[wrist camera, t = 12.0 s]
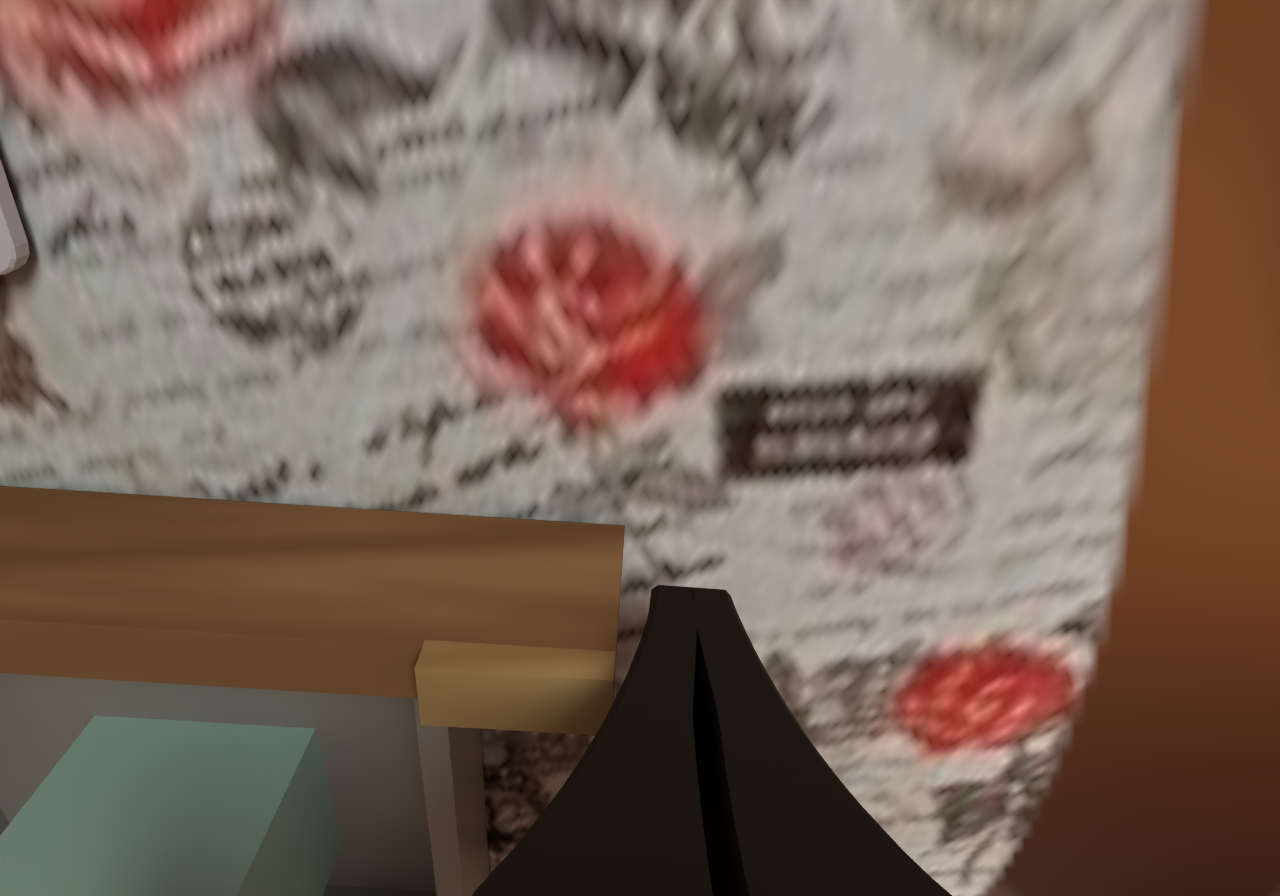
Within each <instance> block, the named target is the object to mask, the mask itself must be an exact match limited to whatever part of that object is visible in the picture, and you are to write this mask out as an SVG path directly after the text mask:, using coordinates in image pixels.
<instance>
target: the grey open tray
mask: <svg viewBox="0 0 1280 896" xmlns="http://www.w3.org/2000/svg"><path fill="white" fill-rule="evenodd" d="M94 716H110V717H127V718H144V719H161V720H178V721H195V722H212V723H229V724H246V725H263V726H280V727H297V728H314V729H316V734H317V738H318V743H319V747H320V752H321V756H322V761H323V766H324V770H325V775H326V779H327V784H328V788H329V793H330V797H331V802H332V806H333V811H334V816H335V820H336V825H337V829H338V834H339V838H340V843H341V848H340V851H339V853H338V856H337V859H336V861H335V864H334V867H333V869H332V872H331V875H330V877H329V880H328V883H327V885H326V888H325V890H324V893H323V896H472V895H473V893H474V892H475V890H476V889H477V888H478V887H479V886H480V885H481V884H482V883H483V881H484V880H485V879H486V878H487V877H488V876H489V875H490V874H489V858H488V841H487V825H486V809H485V792H484V776H483V759H482V743H481V729H479V728H463V727H446V726H430V725H421V720H420V711H419V703H418V699H414V698H397V697H381V696H365V695H348V694H332V693H315V692H299V691H283V690H266V689H250V688H234V687H217V686H201V685H184V684H168V683H152V682H135V681H119V680H102V679H86V678H70V677H53V676H37V675H20V674H4V673H0V835H1V834H2V833H3V832H4V830H5V829H6V828H7V826H8V825H9V824H10V823H11V821H12V820H13V819H14V818H15V816H16V815H17V814H18V812H19V811H20V810H21V809H22V807H23V806H24V805H25V804H26V802H27V801H28V800H29V799H30V797H31V796H32V795H33V793H34V792H35V791H36V790H37V788H38V787H39V786H40V785H41V783H42V782H43V781H44V779H45V778H46V777H47V776H48V774H49V773H50V772H51V771H52V769H53V768H54V767H55V765H56V764H57V763H58V762H59V760H60V759H61V758H62V757H63V755H64V754H65V753H66V751H67V750H68V749H69V748H70V746H71V745H72V744H73V743H74V741H75V740H76V739H77V737H78V736H79V735H80V734H81V732H82V731H83V730H84V729H85V727H86V726H87V725H88V724H89V722H90V721H91V720H92V718H93V717H94Z"/></svg>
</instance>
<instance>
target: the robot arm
mask: <svg viewBox="0 0 1280 896" xmlns="http://www.w3.org/2000/svg"><path fill="white" fill-rule="evenodd" d="M29 254H30V253H29V246H28V241H27V238H26V235H25V232H24V229H23V226H22V223H21V220H20V217H19V214H18V211H17V208H16V205H15V202H14V199H13V196H12V193H11V190H10V187H9V184H8V181H7V178H6V175H5V172H4V169H3V166H2V163H1V160H0V275H5V274H8V273H10V272H12V271H15V270H17V269H19V268H20V267H22V266H23V265H24V264H26V262H27V259H28V257H29ZM472 896H952V895H951V894H950V893H948V892H947V891H946V890H945V889H944V888H943V887H941V886H940V885H939V884H938V883H937V882H936V881H934V880H933V879H932V878H931V877H930V876H929V875H928V874H927V873H926V872H925V871H924V870H923V869H922V868H921V867H920V866H919V865H917V864H916V863H915V862H914V861H913V860H912V859H911V858H910V857H909V856H908V855H907V854H906V853H905V852H904V851H903V850H902V849H901V848H900V847H899V846H898V845H897V844H896V843H895V841H894V840H893V839H892V838H891V837H890V836H889V835H888V834H887V833H886V832H885V831H884V830H883V828H882V827H881V826H880V825H879V824H878V823H877V822H876V821H875V820H874V819H873V818H872V817H871V815H870V814H869V813H868V812H867V811H866V810H865V809H864V808H863V807H862V806H861V805H860V804H859V802H858V801H857V800H856V799H855V798H854V797H853V795H852V794H851V793H850V792H849V790H848V789H847V788H846V787H845V786H844V784H843V783H842V782H841V781H840V779H839V778H838V777H837V776H836V775H835V773H834V772H833V771H832V769H831V768H830V767H829V766H828V764H827V763H826V762H825V760H824V759H823V758H822V756H821V755H820V754H819V752H818V751H817V750H816V748H815V747H814V746H813V744H812V743H811V741H810V740H809V739H808V737H807V736H806V734H805V733H804V731H803V730H802V728H801V727H800V725H799V724H798V722H797V721H796V719H795V718H794V716H793V715H792V713H791V712H790V710H789V708H788V707H787V705H786V704H785V702H784V701H783V699H782V697H781V696H780V694H779V692H778V691H777V689H776V687H775V686H774V684H773V682H772V680H771V678H770V677H769V675H768V673H767V671H766V670H765V668H764V666H763V664H762V663H761V661H760V659H759V657H758V655H757V653H756V651H755V649H754V647H753V645H752V643H751V641H750V639H749V637H748V635H747V633H746V631H745V629H744V627H743V625H742V622H741V620H740V618H739V616H738V613H737V611H736V609H735V606H734V604H733V601H732V598H731V596H730V595H729V593H728V592H727V591H726V590H719V589H706V588H692V587H678V586H665V585H658V586H656V587H655V588H653V589H652V590H651V598H650V608H649V614H648V618H647V621H646V625H645V628H644V631H643V634H642V638H641V641H640V643H639V646H638V648H637V651H636V653H635V656H634V659H633V661H632V664H631V666H630V669H629V671H628V673H627V676H626V678H625V680H624V682H623V684H622V686H621V688H620V690H619V692H618V694H617V696H616V698H615V700H614V702H613V704H612V707H611V709H610V710H609V712H608V714H607V716H606V718H605V720H604V722H603V723H602V725H601V727H600V729H599V730H598V732H597V734H596V736H595V737H594V739H593V741H592V742H591V744H590V746H589V747H588V749H587V750H586V752H585V754H584V755H583V757H582V758H581V760H580V761H579V763H578V764H577V766H576V767H575V769H574V770H573V772H572V773H571V775H570V776H569V778H568V779H567V781H566V782H565V784H564V785H563V787H562V788H561V789H560V791H559V792H558V794H557V795H556V796H555V798H554V799H553V800H552V802H551V803H550V804H549V805H548V807H547V808H546V809H545V810H544V812H543V813H542V814H541V816H540V817H539V818H538V819H537V821H536V822H535V823H534V824H533V826H532V827H531V828H530V829H529V831H528V832H527V833H526V834H525V836H524V837H523V838H522V839H521V841H520V842H519V843H518V844H517V845H516V846H515V848H514V849H513V850H512V851H511V852H510V853H509V854H508V855H507V857H506V858H505V859H504V860H503V861H502V862H501V863H500V864H499V865H498V866H497V867H496V868H495V870H494V871H493V872H492V873H491V874H490V875H489V876H488V877H487V878H486V879H485V880H484V881H483V883H482V884H481V885H480V886H479V887H478V888H477V889H476V890H475V892H474V893H473V895H472Z"/></svg>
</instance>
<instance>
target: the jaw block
mask: <svg viewBox="0 0 1280 896" xmlns="http://www.w3.org/2000/svg"><path fill="white" fill-rule="evenodd" d="M340 848H341V843H340V838H339V834H338V829H337V825H336V820H335V816H334V811H333V806H332V802H331V797H330V793H329V788H328V784H327V779H326V775H325V770H324V766H323V761H322V756H321V752H320V747H319V743H318V738H317V734H316V729H314V728H297V727H280V726H263V725H246V724H229V723H212V722H195V721H178V720H161V719H144V718H127V717H110V716H94V717H93V718H92V720H91V721H90V722H89V724H88V725H87V726H86V727H85V729H84V730H83V731H82V732H81V734H80V735H79V736H78V737H77V739H76V740H75V741H74V743H73V744H72V745H71V746H70V748H69V749H68V750H67V751H66V753H65V754H64V755H63V757H62V758H61V759H60V760H59V762H58V763H57V764H56V765H55V767H54V768H53V769H52V771H51V772H50V773H49V774H48V776H47V777H46V778H45V779H44V781H43V782H42V783H41V785H40V786H39V787H38V788H37V790H36V791H35V792H34V793H33V795H32V796H31V797H30V799H29V800H28V801H27V802H26V804H25V805H24V806H23V807H22V809H21V810H20V811H19V812H18V814H17V815H16V816H15V818H14V819H13V820H12V821H11V823H10V824H9V825H8V826H7V828H6V829H5V830H4V832H3V833H2V834H1V835H0V896H323V893H324V890H325V888H326V885H327V883H328V880H329V877H330V875H331V872H332V869H333V867H334V864H335V861H336V859H337V856H338V853H339V851H340Z"/></svg>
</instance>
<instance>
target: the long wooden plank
mask: <svg viewBox="0 0 1280 896" xmlns="http://www.w3.org/2000/svg"><path fill="white" fill-rule="evenodd" d="M624 528H625V526H622V525H606V524H590V523H575V522H559V521H543V520H527V519H512V518H496V517H480V516H464V515H448V514H433V513H417V512H401V511H385V510H370V509H354V508H338V507H322V506H307V505H291V504H275V503H259V502H243V501H228V500H212V499H196V498H180V497H165V496H149V495H133V494H117V493H102V492H86V491H70V490H54V489H38V488H23V487H7V486H0V673H4V674H20V675H37V676H53V677H70V678H86V679H102V680H119V681H135V682H152V683H168V684H184V685H201V686H217V687H234V688H250V689H266V690H283V691H299V692H315V693H332V694H348V695H365V696H381V697H397V698H414V699H418V703H419V711H420V720H421V725H430V726H446V727H463V728H479V729H496V730H512V731H529V732H545V733H562V734H578V735H595V736H596V734H597V732H598V730H599V729H600V727H601V725H602V723H603V722H604V720H605V718H606V716H607V714H608V712H609V710H610V709H611V707H612V704H613V693H614V678H615V664H616V649H617V635H618V620H619V605H620V591H621V576H622V560H623V544H624Z"/></svg>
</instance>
